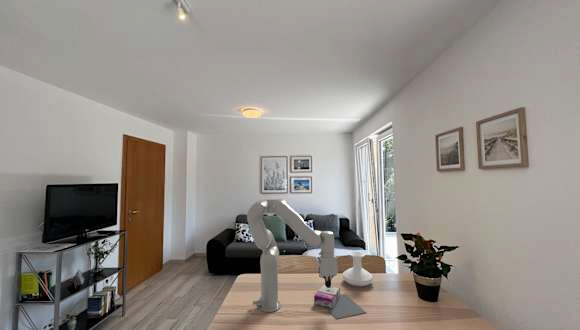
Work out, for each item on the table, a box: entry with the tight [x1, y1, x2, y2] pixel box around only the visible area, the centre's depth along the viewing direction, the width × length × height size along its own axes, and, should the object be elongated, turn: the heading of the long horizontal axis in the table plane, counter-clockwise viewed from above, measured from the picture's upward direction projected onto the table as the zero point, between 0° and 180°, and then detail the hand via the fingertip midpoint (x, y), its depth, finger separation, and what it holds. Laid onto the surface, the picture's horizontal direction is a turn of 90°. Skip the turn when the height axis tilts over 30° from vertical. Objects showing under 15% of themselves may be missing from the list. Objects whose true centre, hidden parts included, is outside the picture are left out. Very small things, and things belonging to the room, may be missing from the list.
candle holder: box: [342, 251, 373, 288], centre depth 169 cm, size 20×20×19 cm
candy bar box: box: [313, 284, 341, 308], centre depth 144 cm, size 11×5×16 cm
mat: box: [325, 293, 367, 320], centre depth 139 cm, size 18×22×1 cm
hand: (328, 286), depth 137 cm, fingers closed
